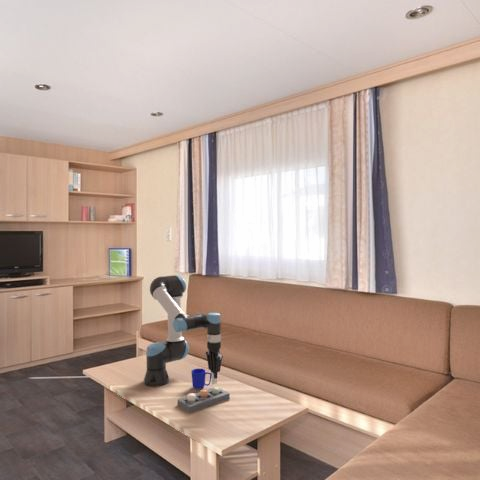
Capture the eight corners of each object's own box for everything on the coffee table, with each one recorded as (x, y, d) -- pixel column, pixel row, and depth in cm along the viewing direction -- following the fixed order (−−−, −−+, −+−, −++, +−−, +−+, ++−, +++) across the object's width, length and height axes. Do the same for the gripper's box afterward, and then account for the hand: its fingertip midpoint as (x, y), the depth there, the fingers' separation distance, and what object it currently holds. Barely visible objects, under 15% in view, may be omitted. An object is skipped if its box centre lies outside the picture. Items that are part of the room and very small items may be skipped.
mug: (209, 391, 226) (209, 374, 226) (189, 389, 229) (189, 372, 228) (213, 385, 234) (213, 369, 234) (194, 384, 237) (193, 368, 237)
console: (177, 405, 208) (177, 399, 208) (216, 392, 225) (216, 386, 225) (189, 412, 199) (189, 407, 199) (229, 398, 216) (229, 393, 216)
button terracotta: (198, 396, 212) (198, 390, 212) (205, 394, 215) (204, 388, 215) (202, 398, 209) (202, 393, 209) (209, 396, 212) (209, 391, 212)
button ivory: (185, 400, 207) (185, 394, 207) (192, 398, 210) (192, 392, 210) (190, 403, 204) (190, 397, 204) (197, 400, 207) (197, 395, 206)
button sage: (210, 393, 217) (210, 388, 217) (216, 391, 220) (216, 386, 220) (214, 396, 214) (214, 390, 214) (221, 394, 217) (221, 388, 217)
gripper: (201, 340, 218) (202, 381, 219) (215, 345, 209) (216, 388, 209) (212, 337, 223) (212, 378, 224) (226, 342, 213) (226, 385, 214)
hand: (214, 383), depth 216 cm, fingers closed
